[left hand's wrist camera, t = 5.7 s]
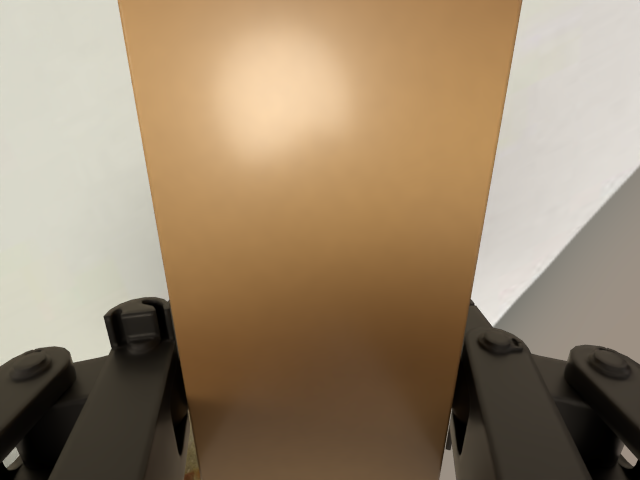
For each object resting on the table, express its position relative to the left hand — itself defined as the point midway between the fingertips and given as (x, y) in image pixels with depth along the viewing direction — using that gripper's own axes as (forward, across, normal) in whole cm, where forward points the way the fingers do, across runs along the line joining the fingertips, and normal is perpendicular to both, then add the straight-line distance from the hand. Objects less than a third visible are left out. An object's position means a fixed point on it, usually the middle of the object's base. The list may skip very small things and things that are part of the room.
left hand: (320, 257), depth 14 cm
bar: (+1, 0, -7) cm, 7 cm away
